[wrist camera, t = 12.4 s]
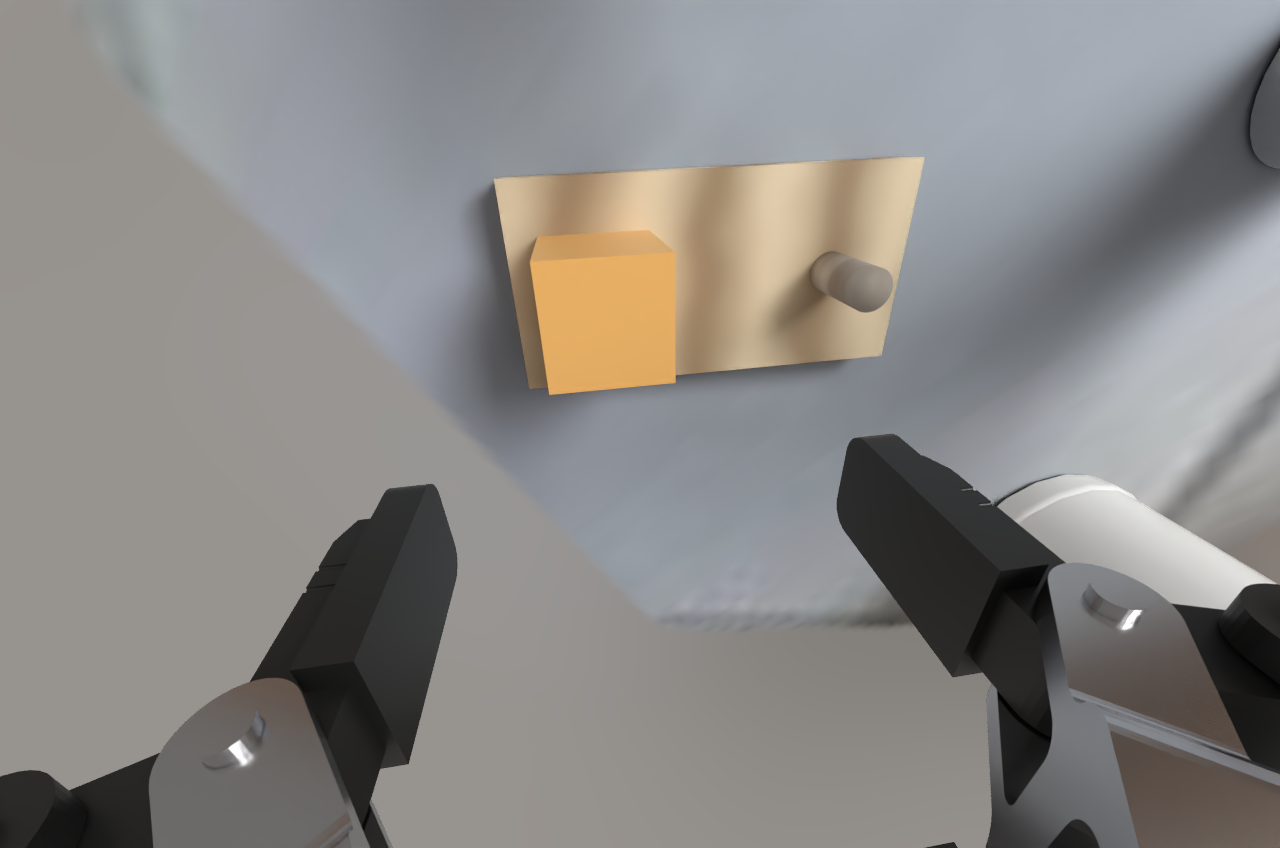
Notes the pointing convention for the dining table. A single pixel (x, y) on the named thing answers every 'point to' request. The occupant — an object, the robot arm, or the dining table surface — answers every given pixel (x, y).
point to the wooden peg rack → (737, 252)
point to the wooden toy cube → (605, 310)
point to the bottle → (1128, 540)
